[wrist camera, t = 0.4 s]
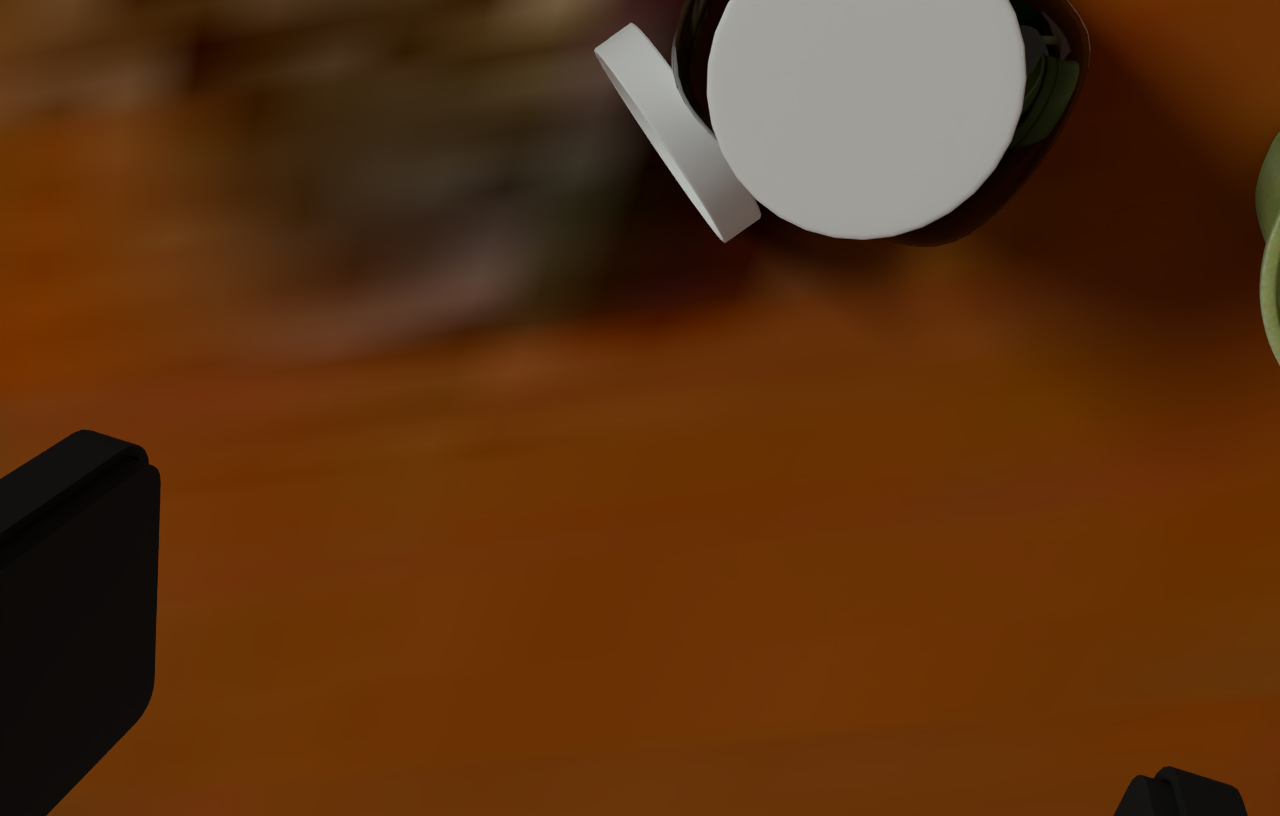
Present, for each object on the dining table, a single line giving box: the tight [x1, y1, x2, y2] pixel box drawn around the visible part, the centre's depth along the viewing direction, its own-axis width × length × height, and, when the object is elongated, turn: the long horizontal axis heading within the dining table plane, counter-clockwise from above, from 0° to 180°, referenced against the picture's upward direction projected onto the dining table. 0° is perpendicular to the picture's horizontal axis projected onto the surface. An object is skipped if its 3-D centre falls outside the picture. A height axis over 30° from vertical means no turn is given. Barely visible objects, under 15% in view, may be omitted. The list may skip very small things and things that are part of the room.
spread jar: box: [594, 0, 1091, 247], centre depth 32 cm, size 12×11×12 cm
